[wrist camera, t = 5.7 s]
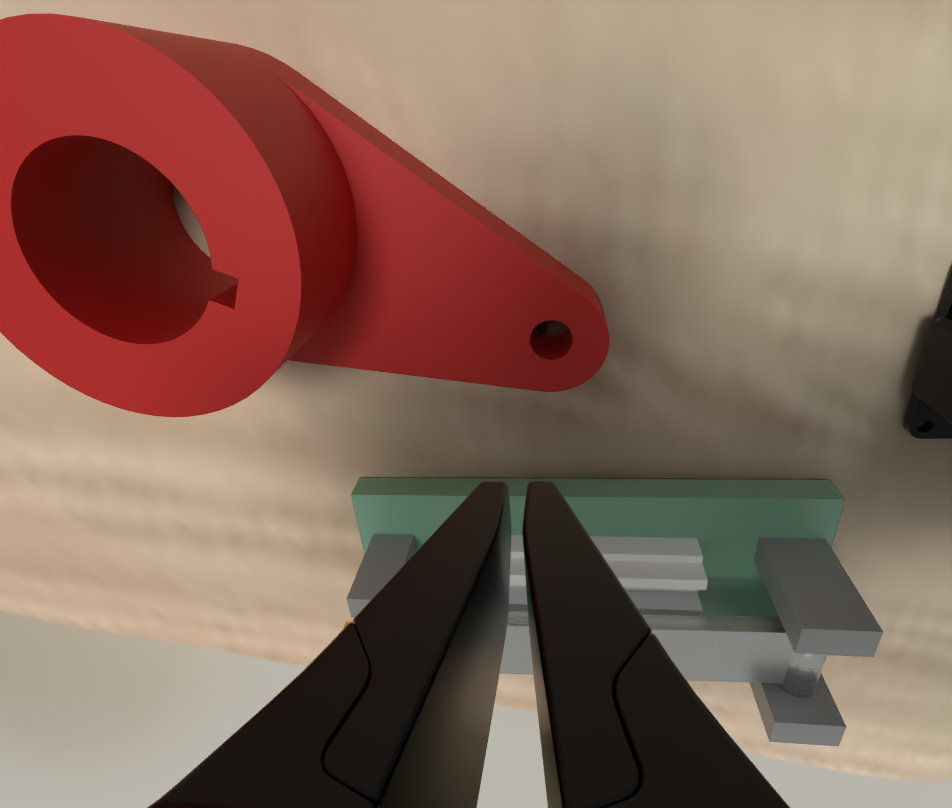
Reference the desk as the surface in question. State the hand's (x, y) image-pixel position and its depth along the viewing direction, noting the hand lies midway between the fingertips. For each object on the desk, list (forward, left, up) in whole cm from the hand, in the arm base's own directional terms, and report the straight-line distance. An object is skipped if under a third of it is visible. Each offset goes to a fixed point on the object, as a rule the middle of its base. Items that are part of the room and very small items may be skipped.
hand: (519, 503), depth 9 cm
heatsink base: (-2, +13, -12) cm, 18 cm away
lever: (+6, -2, -12) cm, 14 cm away
